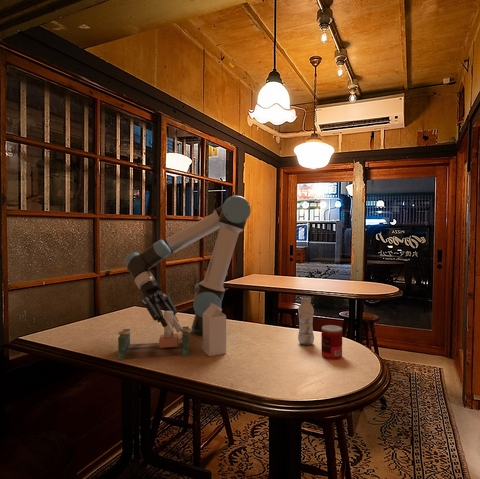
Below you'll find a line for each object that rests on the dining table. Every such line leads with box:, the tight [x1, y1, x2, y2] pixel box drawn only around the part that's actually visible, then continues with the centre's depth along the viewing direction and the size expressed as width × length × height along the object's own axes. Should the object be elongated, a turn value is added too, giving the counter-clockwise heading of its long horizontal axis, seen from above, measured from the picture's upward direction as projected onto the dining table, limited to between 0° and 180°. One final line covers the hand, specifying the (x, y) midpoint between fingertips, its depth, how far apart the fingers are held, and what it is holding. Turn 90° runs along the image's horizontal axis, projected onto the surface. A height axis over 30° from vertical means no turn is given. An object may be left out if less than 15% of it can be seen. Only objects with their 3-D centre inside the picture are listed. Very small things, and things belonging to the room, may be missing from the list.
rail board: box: [117, 326, 191, 360], centre depth 139 cm, size 28×12×8 cm, turn 99°
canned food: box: [320, 324, 343, 361], centre depth 134 cm, size 8×8×11 cm
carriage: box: [158, 311, 179, 348], centre depth 140 cm, size 7×7×13 cm
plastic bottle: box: [297, 295, 315, 346], centre depth 148 cm, size 6×7×20 cm
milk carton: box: [202, 303, 227, 357], centre depth 138 cm, size 7×7×19 cm
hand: (175, 331), depth 137 cm, fingers closed on carriage, 4 cm apart
